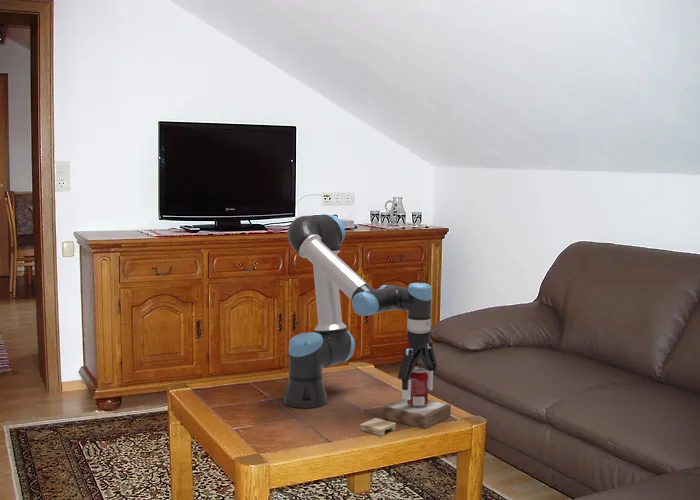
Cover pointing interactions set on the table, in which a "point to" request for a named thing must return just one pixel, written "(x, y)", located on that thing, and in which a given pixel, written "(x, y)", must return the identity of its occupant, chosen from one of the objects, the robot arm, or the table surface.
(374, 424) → the plate
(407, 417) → the dock
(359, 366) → the table surface
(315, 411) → the table surface
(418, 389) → the soda can
